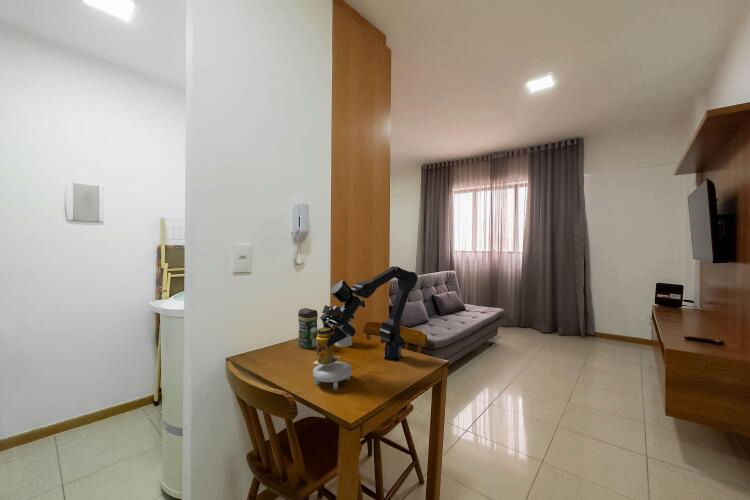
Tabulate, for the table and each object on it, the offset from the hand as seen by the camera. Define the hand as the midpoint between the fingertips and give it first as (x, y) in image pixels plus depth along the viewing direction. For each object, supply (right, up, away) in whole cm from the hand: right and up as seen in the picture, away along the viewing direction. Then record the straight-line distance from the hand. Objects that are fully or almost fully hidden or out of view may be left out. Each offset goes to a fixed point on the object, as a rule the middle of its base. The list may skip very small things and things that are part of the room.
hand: (323, 343), depth 109 cm
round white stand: (+4, -13, -2) cm, 14 cm away
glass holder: (+2, -13, +42) cm, 44 cm away
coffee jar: (-14, -13, +37) cm, 41 cm away
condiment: (+1, -7, +1) cm, 7 cm away
